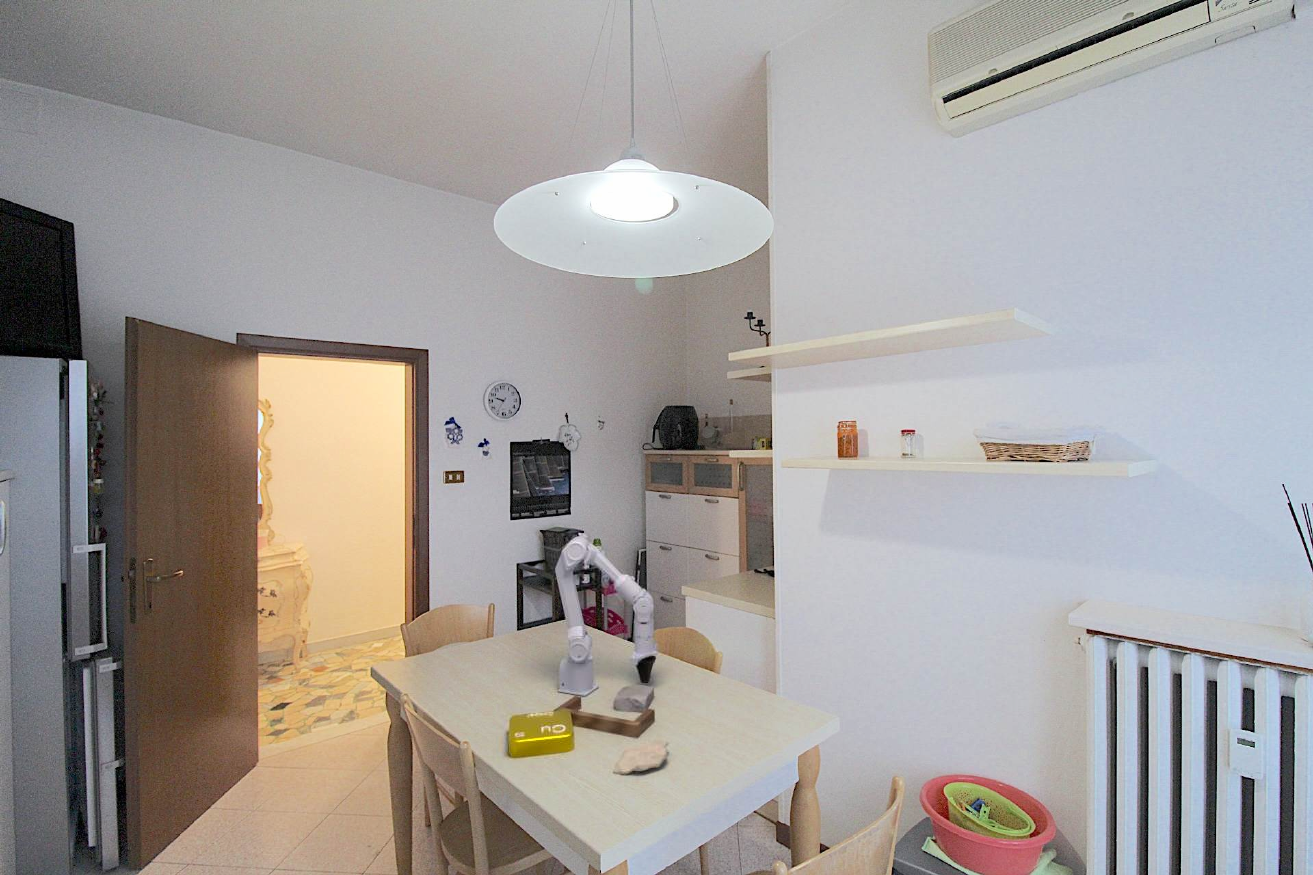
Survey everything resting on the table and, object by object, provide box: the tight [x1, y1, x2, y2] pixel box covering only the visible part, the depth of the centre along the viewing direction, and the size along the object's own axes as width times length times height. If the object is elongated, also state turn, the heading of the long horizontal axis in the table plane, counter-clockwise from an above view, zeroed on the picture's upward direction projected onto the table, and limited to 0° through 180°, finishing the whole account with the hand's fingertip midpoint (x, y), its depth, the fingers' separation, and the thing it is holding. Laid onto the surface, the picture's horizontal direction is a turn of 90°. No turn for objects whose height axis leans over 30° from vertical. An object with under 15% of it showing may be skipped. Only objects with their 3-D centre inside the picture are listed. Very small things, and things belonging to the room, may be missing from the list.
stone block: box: [613, 684, 655, 713], centre depth 171 cm, size 12×5×10 cm
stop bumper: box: [553, 695, 656, 739], centre depth 160 cm, size 24×10×3 cm, turn 65°
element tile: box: [507, 710, 575, 759], centre depth 150 cm, size 15×15×5 cm
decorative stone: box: [612, 739, 669, 775], centre depth 139 cm, size 11×4×15 cm
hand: (644, 682), depth 181 cm, fingers closed
